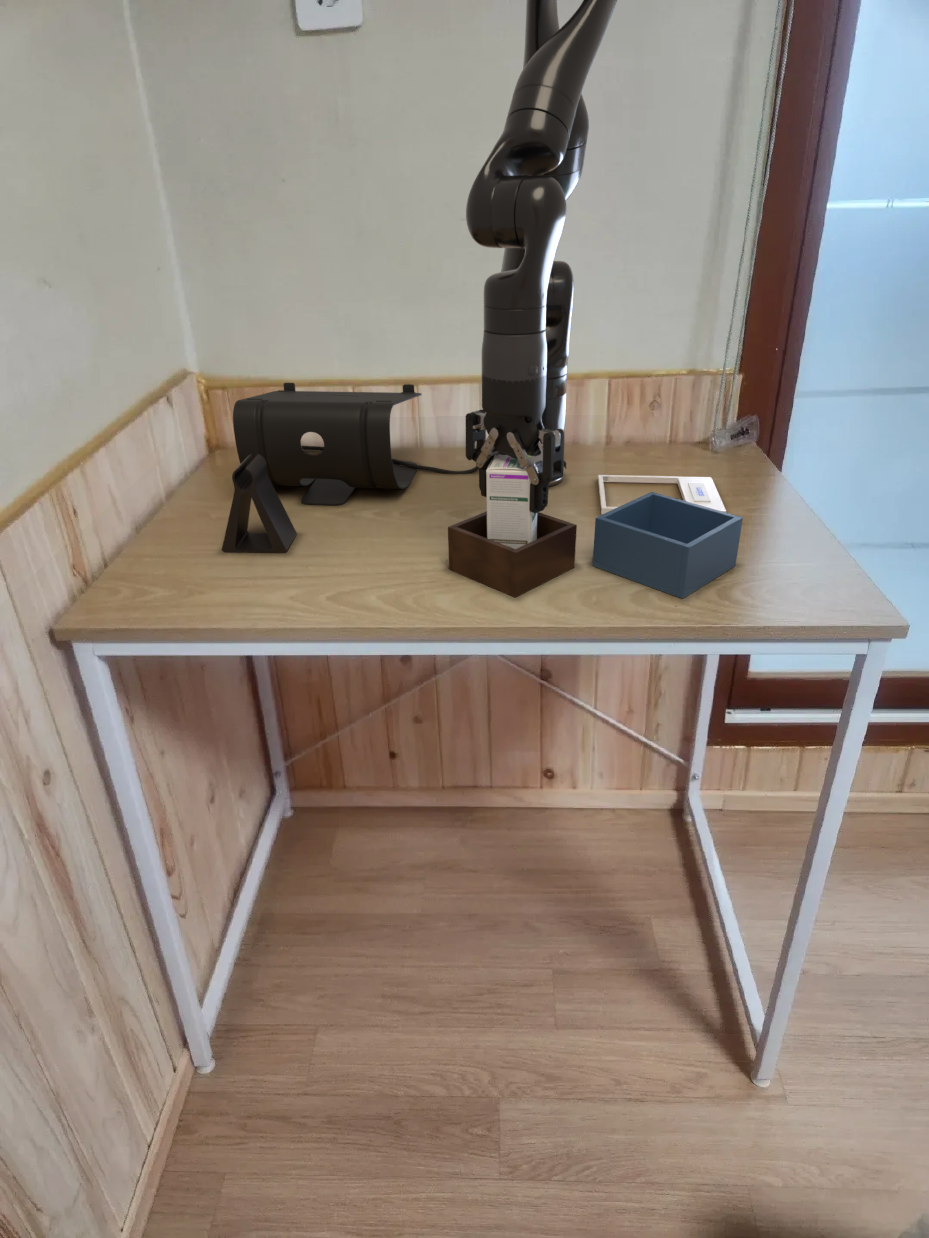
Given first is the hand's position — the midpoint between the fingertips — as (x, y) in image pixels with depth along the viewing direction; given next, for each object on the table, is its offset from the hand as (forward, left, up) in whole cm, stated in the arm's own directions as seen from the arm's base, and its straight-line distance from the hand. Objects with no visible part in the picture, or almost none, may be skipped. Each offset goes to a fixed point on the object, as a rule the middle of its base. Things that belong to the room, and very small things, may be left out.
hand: (512, 502), depth 106 cm
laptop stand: (-43, +5, -9) cm, 44 cm away
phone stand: (-31, -18, -9) cm, 37 cm away
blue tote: (+14, +14, -9) cm, 22 cm away
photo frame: (0, +34, -9) cm, 35 cm away
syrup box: (0, 0, -9) cm, 9 cm away
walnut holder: (0, 0, -9) cm, 9 cm away
